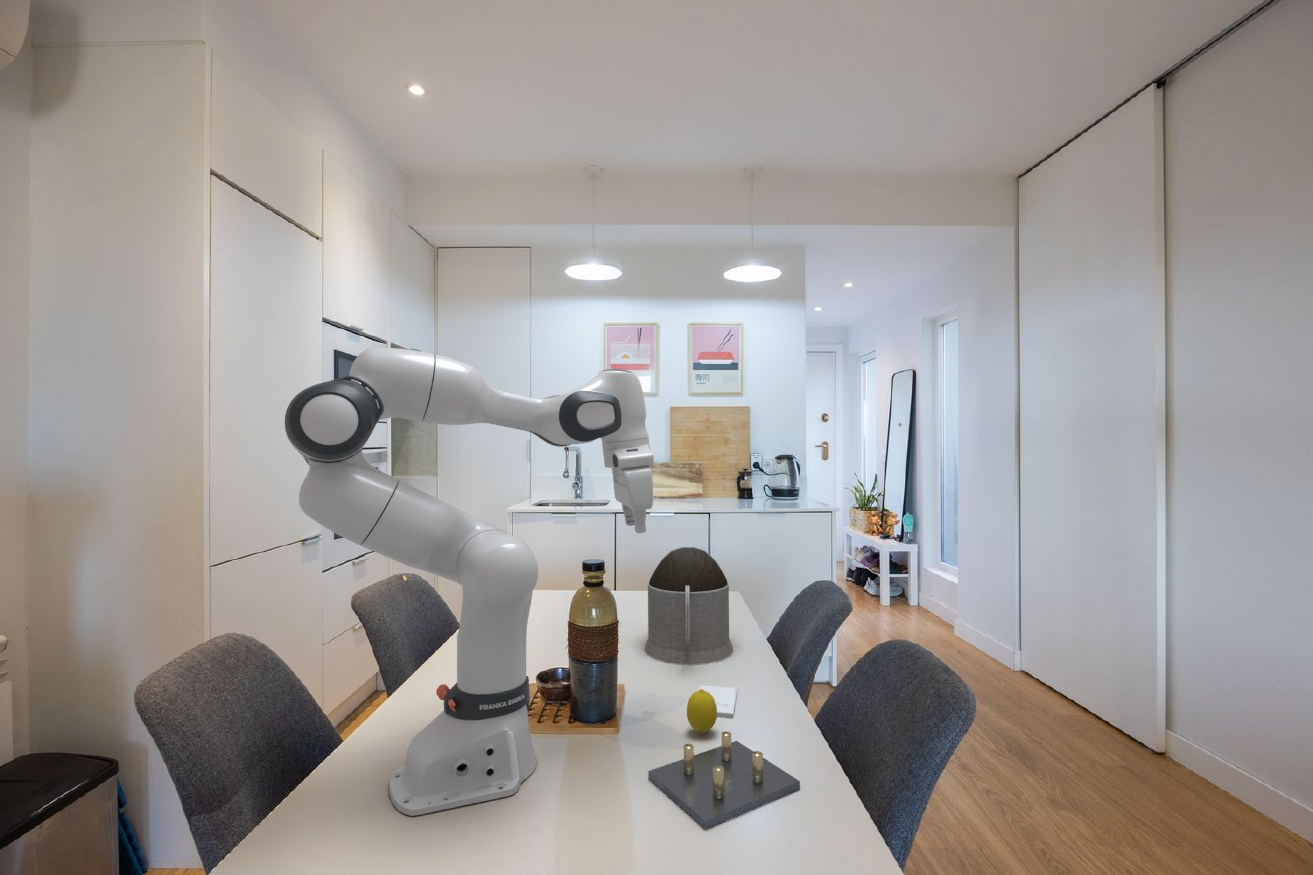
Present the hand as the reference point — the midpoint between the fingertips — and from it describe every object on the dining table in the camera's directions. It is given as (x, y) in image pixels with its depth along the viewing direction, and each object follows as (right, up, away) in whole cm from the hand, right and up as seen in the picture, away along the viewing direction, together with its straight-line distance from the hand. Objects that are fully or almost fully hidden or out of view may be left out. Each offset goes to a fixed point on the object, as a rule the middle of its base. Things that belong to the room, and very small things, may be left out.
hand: (635, 528), depth 111 cm
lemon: (+12, -37, -3) cm, 39 cm away
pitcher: (+12, -38, +39) cm, 56 cm away
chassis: (+14, -37, -19) cm, 44 cm away
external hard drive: (+16, -38, +10) cm, 43 cm away
